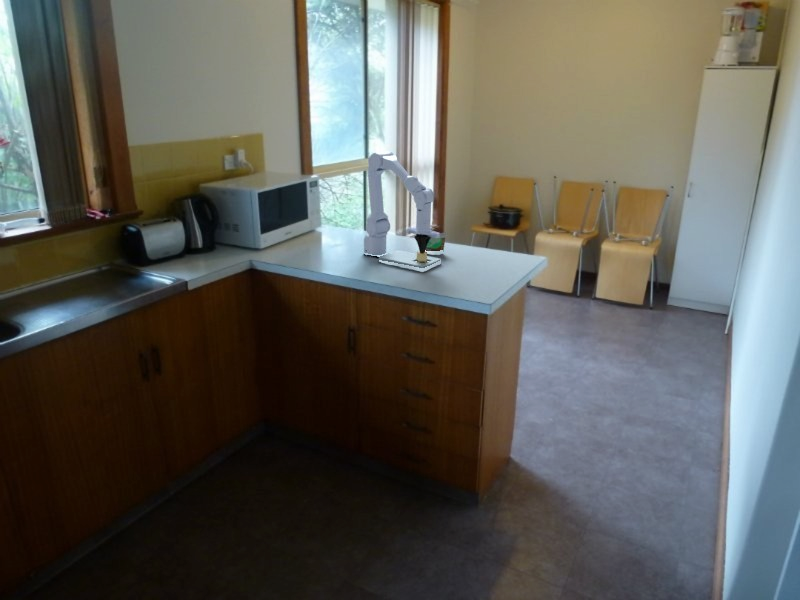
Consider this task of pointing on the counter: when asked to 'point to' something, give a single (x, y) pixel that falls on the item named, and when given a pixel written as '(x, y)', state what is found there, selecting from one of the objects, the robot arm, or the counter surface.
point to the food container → (436, 243)
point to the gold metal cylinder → (422, 257)
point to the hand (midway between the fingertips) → (422, 252)
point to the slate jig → (407, 259)
